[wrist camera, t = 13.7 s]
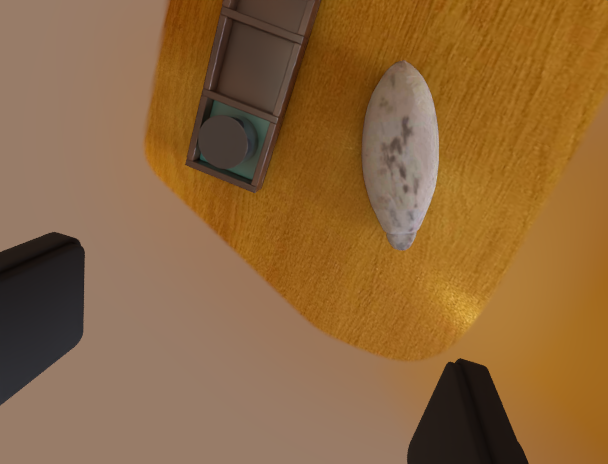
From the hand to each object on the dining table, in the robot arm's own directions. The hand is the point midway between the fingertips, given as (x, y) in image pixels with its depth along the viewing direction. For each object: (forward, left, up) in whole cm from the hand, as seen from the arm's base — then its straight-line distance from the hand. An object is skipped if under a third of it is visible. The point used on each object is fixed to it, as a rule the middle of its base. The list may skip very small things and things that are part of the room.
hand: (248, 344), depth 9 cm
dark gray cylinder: (+3, -10, -25) cm, 27 cm away
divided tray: (-3, -11, -26) cm, 29 cm away
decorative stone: (-3, +3, -26) cm, 27 cm away
